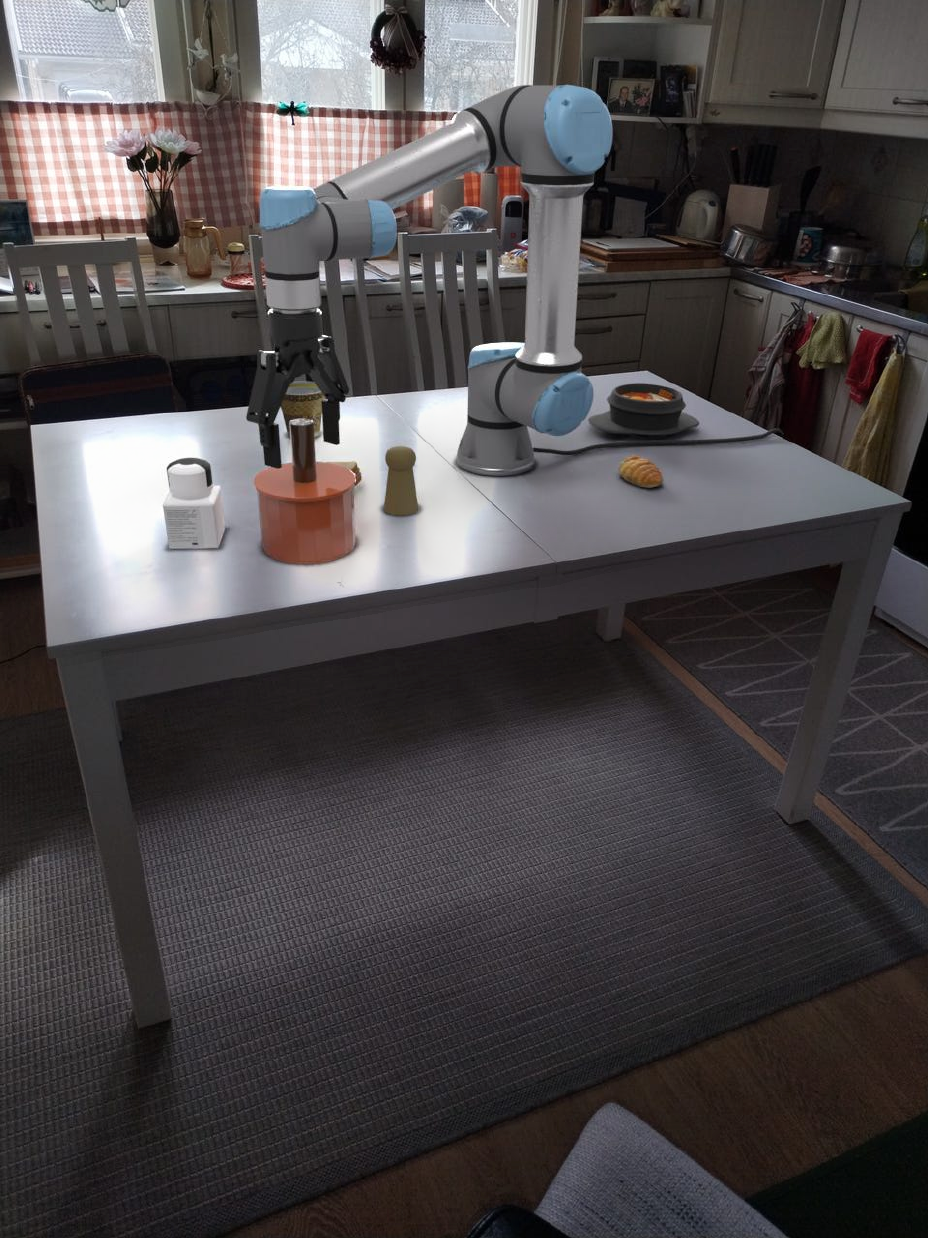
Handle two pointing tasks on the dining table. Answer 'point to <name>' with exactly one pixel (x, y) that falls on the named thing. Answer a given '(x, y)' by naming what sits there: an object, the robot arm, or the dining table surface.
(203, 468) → the container
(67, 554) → the dining table surface
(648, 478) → the pastry
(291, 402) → the ceramic cup
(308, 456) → the lid
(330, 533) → the pot
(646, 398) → the casserole
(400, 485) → the olive pawn figure
